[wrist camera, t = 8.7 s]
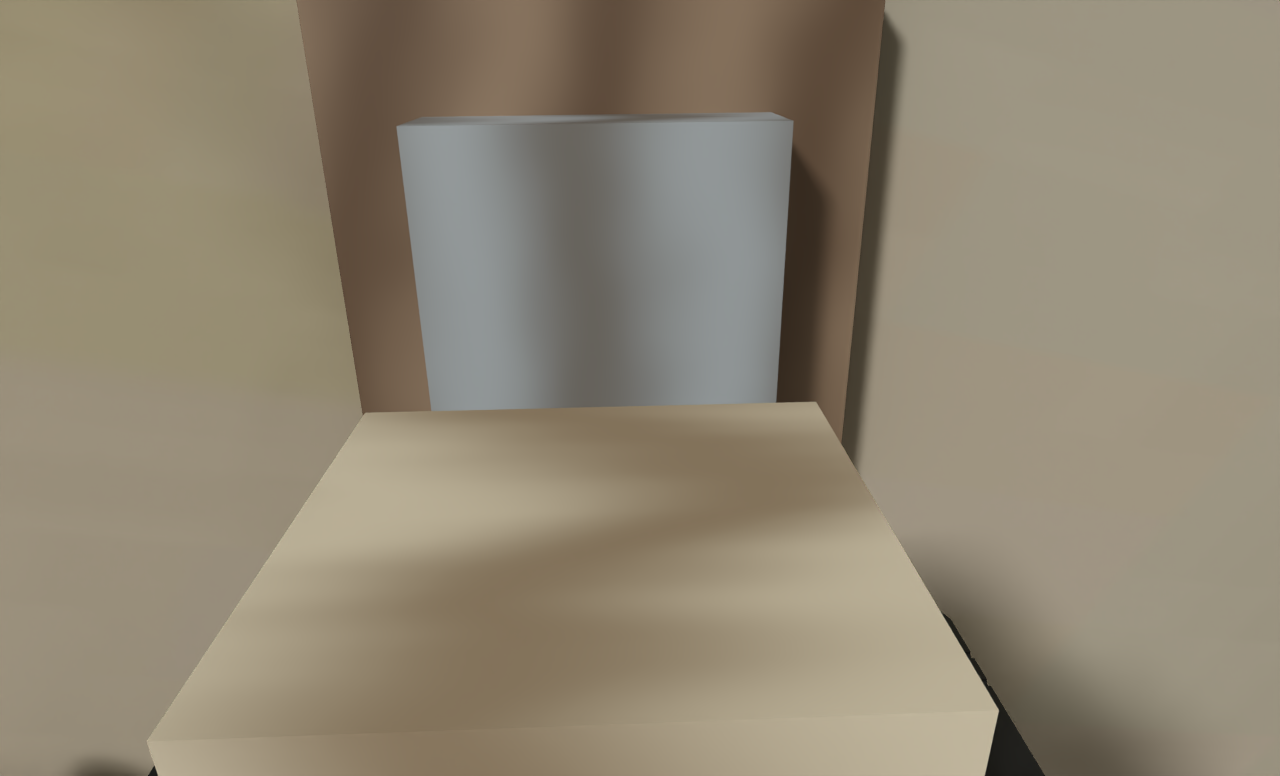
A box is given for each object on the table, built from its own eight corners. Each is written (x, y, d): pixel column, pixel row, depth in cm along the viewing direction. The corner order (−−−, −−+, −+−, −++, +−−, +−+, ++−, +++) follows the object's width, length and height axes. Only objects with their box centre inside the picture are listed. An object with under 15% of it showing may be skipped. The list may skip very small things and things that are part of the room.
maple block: (816, 401, 10) (1062, 817, 5) (788, 736, 12) (932, 1286, 7) (365, 412, 10) (69, 858, 4) (418, 750, 12) (263, 1326, 6)
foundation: (865, -20, 24) (928, -35, 19) (820, 483, 30) (859, 561, 26) (318, -15, 23) (246, -31, 19) (394, 495, 30) (355, 576, 25)
